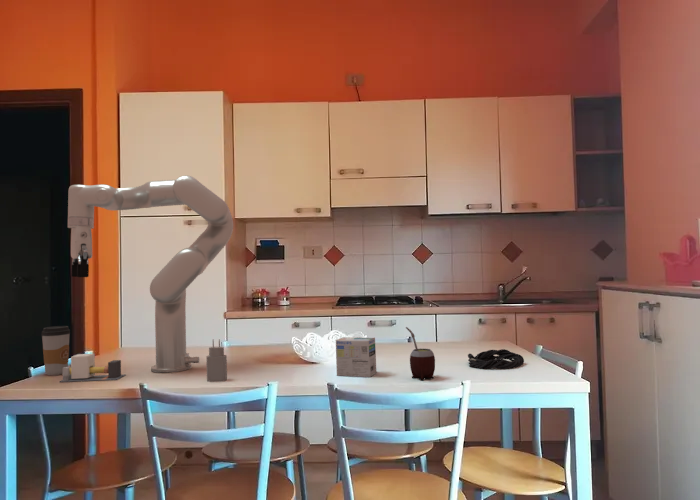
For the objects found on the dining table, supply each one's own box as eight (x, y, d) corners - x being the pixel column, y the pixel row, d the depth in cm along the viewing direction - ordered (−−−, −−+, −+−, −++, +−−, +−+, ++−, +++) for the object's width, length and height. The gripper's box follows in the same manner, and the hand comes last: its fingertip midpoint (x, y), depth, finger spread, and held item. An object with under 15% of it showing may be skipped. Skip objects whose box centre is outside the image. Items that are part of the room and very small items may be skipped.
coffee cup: (58, 376, 170) (57, 328, 171) (35, 376, 172) (35, 328, 172) (76, 371, 178) (76, 325, 179) (54, 370, 180) (54, 325, 180)
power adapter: (209, 379, 159) (208, 338, 159) (227, 379, 159) (226, 338, 159) (206, 381, 156) (205, 340, 156) (224, 381, 156) (223, 339, 156)
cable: (519, 361, 174) (519, 348, 174) (530, 370, 160) (529, 355, 160) (466, 362, 176) (465, 349, 176) (471, 371, 162) (470, 356, 162)
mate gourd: (436, 375, 155) (434, 323, 155) (434, 382, 147) (432, 327, 147) (410, 375, 156) (408, 323, 157) (407, 381, 149) (405, 327, 149)
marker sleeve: (94, 374, 167) (94, 353, 167) (88, 378, 163) (87, 356, 163) (78, 375, 167) (78, 354, 167) (71, 378, 162) (71, 356, 162)
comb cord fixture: (125, 375, 169) (125, 359, 169) (116, 380, 162) (116, 363, 162) (70, 377, 168) (70, 360, 168) (59, 382, 161) (59, 365, 161)
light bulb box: (377, 373, 161) (376, 336, 162) (370, 377, 155) (369, 340, 155) (343, 371, 165) (342, 336, 165) (335, 376, 159) (334, 339, 159)
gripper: (99, 222, 168) (98, 277, 168) (88, 225, 182) (87, 276, 182) (72, 221, 164) (71, 277, 163) (63, 224, 178) (62, 276, 177)
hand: (79, 276), depth 172 cm, fingers open, 9 cm apart
